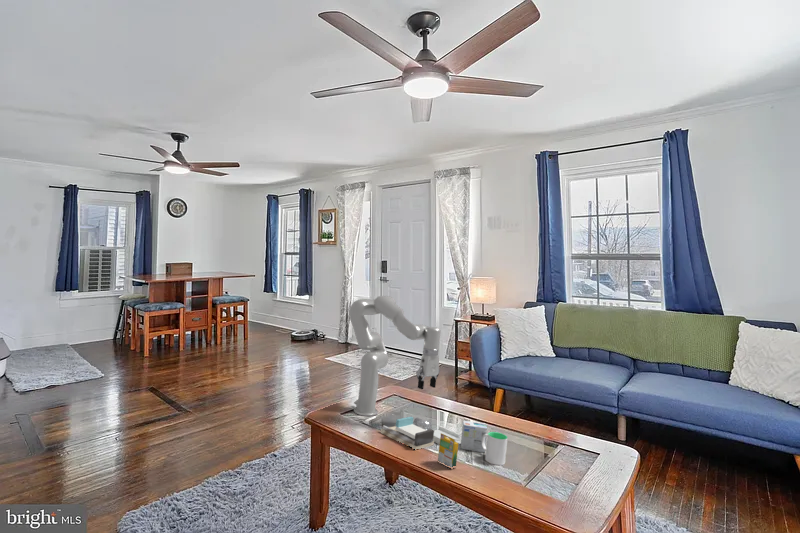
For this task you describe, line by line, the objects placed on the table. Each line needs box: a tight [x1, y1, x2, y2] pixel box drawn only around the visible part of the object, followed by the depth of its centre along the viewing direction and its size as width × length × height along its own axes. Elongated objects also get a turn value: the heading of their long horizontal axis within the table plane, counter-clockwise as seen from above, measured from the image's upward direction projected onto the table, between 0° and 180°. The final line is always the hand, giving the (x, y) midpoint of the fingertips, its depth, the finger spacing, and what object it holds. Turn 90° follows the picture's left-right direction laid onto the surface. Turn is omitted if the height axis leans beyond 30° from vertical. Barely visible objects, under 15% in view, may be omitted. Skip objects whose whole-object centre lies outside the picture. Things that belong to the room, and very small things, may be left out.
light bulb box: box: [460, 419, 488, 453], centre depth 177 cm, size 11×7×11 cm, turn 84°
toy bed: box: [395, 416, 427, 440], centre depth 176 cm, size 12×10×6 cm
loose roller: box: [413, 417, 432, 430], centre depth 193 cm, size 8×4×4 cm, turn 45°
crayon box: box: [437, 433, 459, 467], centre depth 156 cm, size 7×3×12 cm, turn 43°
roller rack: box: [433, 425, 461, 445], centre depth 184 cm, size 12×14×2 cm
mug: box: [482, 431, 508, 466], centre depth 167 cm, size 12×8×10 cm
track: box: [380, 425, 435, 451], centre depth 178 cm, size 22×12×6 cm, turn 45°
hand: (426, 387), depth 194 cm, fingers open, 8 cm apart
